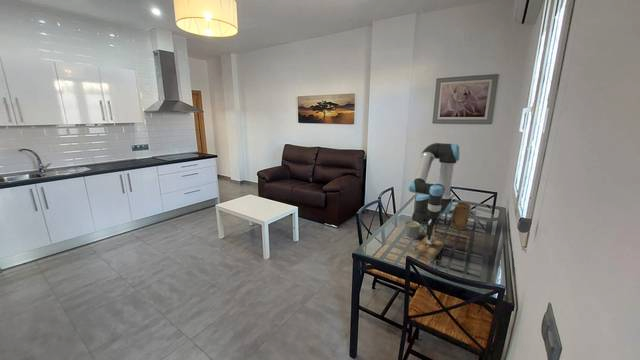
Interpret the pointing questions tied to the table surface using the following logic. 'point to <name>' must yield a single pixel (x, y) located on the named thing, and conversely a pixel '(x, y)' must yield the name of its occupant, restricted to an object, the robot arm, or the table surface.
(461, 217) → the block
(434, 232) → the peg
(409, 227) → the coffee mug
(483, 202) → the table surface
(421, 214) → the robot arm
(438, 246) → the board
